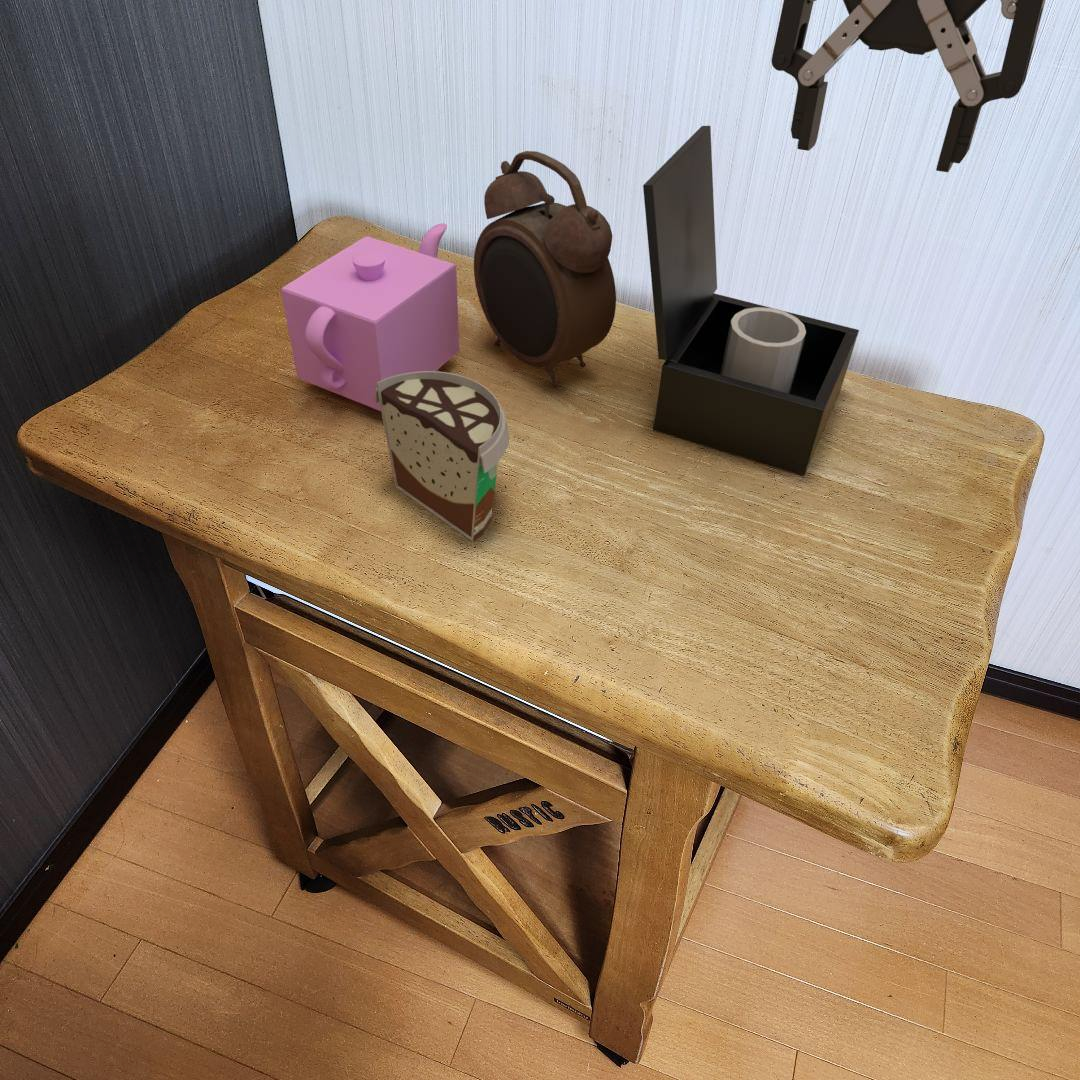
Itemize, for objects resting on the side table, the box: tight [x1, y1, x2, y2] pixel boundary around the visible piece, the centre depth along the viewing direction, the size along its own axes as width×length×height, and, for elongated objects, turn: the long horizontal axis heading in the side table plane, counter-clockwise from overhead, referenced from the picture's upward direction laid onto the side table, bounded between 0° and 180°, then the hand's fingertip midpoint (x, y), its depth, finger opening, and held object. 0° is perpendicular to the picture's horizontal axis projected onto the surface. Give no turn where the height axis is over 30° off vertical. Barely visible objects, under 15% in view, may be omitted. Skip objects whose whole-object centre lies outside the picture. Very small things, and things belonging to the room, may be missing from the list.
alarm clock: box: [473, 150, 617, 388], centre depth 83 cm, size 15×7×20 cm, turn 41°
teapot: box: [280, 222, 460, 412], centre depth 84 cm, size 20×10×12 cm, turn 150°
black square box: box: [652, 292, 860, 477], centre depth 83 cm, size 14×14×7 cm
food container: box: [375, 371, 510, 543], centre depth 72 cm, size 12×6×10 cm, turn 47°
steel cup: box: [720, 307, 806, 394], centre depth 82 cm, size 6×6×8 cm
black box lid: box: [642, 125, 718, 361], centre depth 78 cm, size 15×14×1 cm
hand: (873, 157), depth 57 cm, fingers open, 8 cm apart
